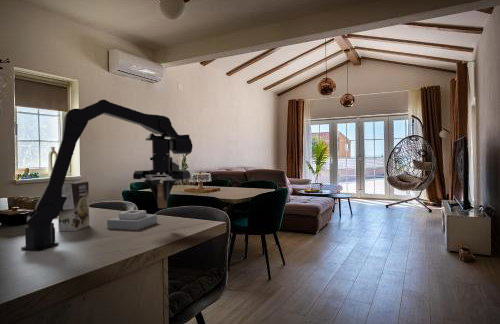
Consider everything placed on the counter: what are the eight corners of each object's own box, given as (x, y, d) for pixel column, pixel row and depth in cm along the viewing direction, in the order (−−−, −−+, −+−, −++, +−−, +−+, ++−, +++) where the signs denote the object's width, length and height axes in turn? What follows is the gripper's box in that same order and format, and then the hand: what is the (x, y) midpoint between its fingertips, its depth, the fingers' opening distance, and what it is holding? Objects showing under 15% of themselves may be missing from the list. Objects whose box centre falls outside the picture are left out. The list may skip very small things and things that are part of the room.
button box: (137, 230, 109) (136, 215, 109) (107, 228, 113) (106, 214, 113) (157, 222, 121) (156, 209, 121) (129, 221, 124) (129, 208, 124)
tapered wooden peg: (163, 208, 108) (163, 184, 108) (155, 208, 109) (155, 184, 109) (168, 207, 111) (168, 183, 111) (160, 206, 112) (160, 183, 111)
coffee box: (76, 231, 110) (75, 183, 109) (57, 231, 110) (56, 183, 109) (90, 225, 119) (89, 181, 118) (73, 225, 119) (71, 181, 118)
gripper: (197, 153, 114) (197, 198, 115) (150, 154, 120) (151, 196, 120) (181, 153, 104) (182, 202, 104) (131, 154, 109) (132, 201, 109)
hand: (162, 200), depth 110 cm, fingers closed on tapered wooden peg, 3 cm apart
